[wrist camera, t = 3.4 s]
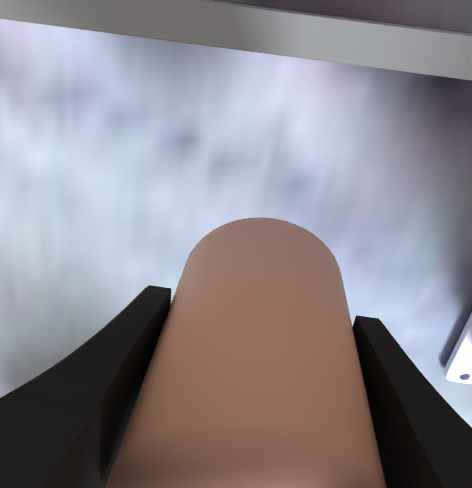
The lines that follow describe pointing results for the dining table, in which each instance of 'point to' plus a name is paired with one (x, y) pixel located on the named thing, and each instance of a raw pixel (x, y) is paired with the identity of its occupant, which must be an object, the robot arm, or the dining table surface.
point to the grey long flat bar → (261, 31)
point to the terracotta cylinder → (253, 373)
